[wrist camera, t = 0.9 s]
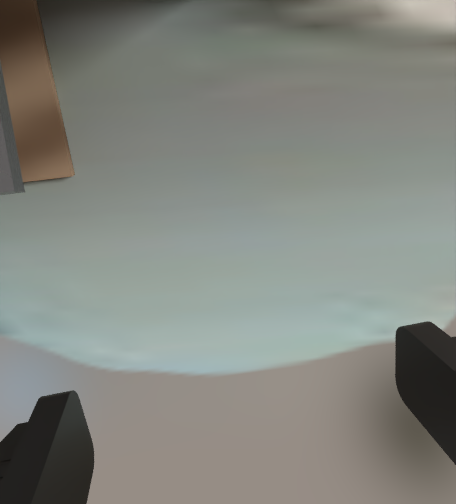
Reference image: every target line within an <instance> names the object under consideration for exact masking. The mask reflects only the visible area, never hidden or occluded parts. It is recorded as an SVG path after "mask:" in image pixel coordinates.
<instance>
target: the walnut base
mask: <svg viewBox="0 0 456 504" xmlns="http://www.w3.org/2000/svg"><path fill="white" fill-rule="evenodd" d="M0 61H1V66H2V72H3V77H4V82H5V88H6V93H7V99H8V104H9V109H10V115H11V120H12V125H13V131H14V136H15V141H16V147H17V152H18V157H19V163H20V168H21V173H22V179H23V182H29V181H37V180H46V179H54V178H63V177H71V176H74V175H75V173H74V169H73V164H72V160H71V155H70V151H69V146H68V141H67V137H66V132H65V128H64V123H63V119H62V114H61V110H60V105H59V101H58V96H57V91H56V87H55V82H54V78H53V73H52V69H51V64H50V60H49V55H48V51H47V46H46V42H45V37H44V32H43V28H42V23H41V19H40V14H39V10H38V5H37V1H36V0H0Z"/></svg>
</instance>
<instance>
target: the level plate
mask: <svg viewBox="0 0 456 504" xmlns="http://www.w3.org/2000/svg"><path fill="white" fill-rule="evenodd" d="M21 192H25V190H24V184H23V179H22V173H21V168H20V163H19V157H18V152H17V147H16V141H15V136H14V131H13V125H12V120H11V115H10V109H9V104H8V99H7V93H6V88H5V82H4V77H3V72H2V66H1V61H0V195H5V194H13V193H21Z"/></svg>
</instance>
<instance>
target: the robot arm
mask: <svg viewBox="0 0 456 504" xmlns="http://www.w3.org/2000/svg"><path fill="white" fill-rule="evenodd" d="M395 377H396V385H397V389H398V392H399V394H400V396H401V398H402V400H403V401H404V403H405V405H406V406H407V407H408V408H409V409H410V411H411V412H412V413H413V414H414V415H415V417H416V418H417V419H418V420H419V422H420V423H421V424H422V425H423V426H424V427H425V429H426V430H427V431H428V432H429V434H430V435H431V436H432V437H433V438H434V439H435V441H436V442H437V443H438V444H439V446H440V447H441V448H442V449H443V450H444V452H445V453H446V454H447V455H448V456H449V458H450V459H451V460H452V461H453V462H454V463H455V465H456V337H450V336H449V335H447V334H446V333H445V332H444V331H442V330H441V329H440V328H438V327H437V326H436V325H435V324H433V323H432V322H428V321H427V322H422V323H417V324H412V325H407V326H402V327H399V328H398V329H397V331H396V374H395ZM93 469H94V449H93V443H92V439H91V436H90V432H89V429H88V426H87V422H86V419H85V416H84V413H83V409H82V406H81V403H80V399H79V397H78V394H77V393H76V392H75V391H68V392H63V393H57V394H52V395H47V396H42V397H40V398H39V399H38V401H37V404H36V406H35V408H34V410H33V412H32V414H31V417H30V419H29V421H28V422H26V423H21V424H17V425H16V426H15V428H14V429H13V430H12V431H11V432H10V433H9V434H8V435H7V436H6V437H5V438H4V439H3V440H2V441H1V442H0V504H86V503H87V498H88V493H89V489H90V483H91V479H92V474H93Z"/></svg>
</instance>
